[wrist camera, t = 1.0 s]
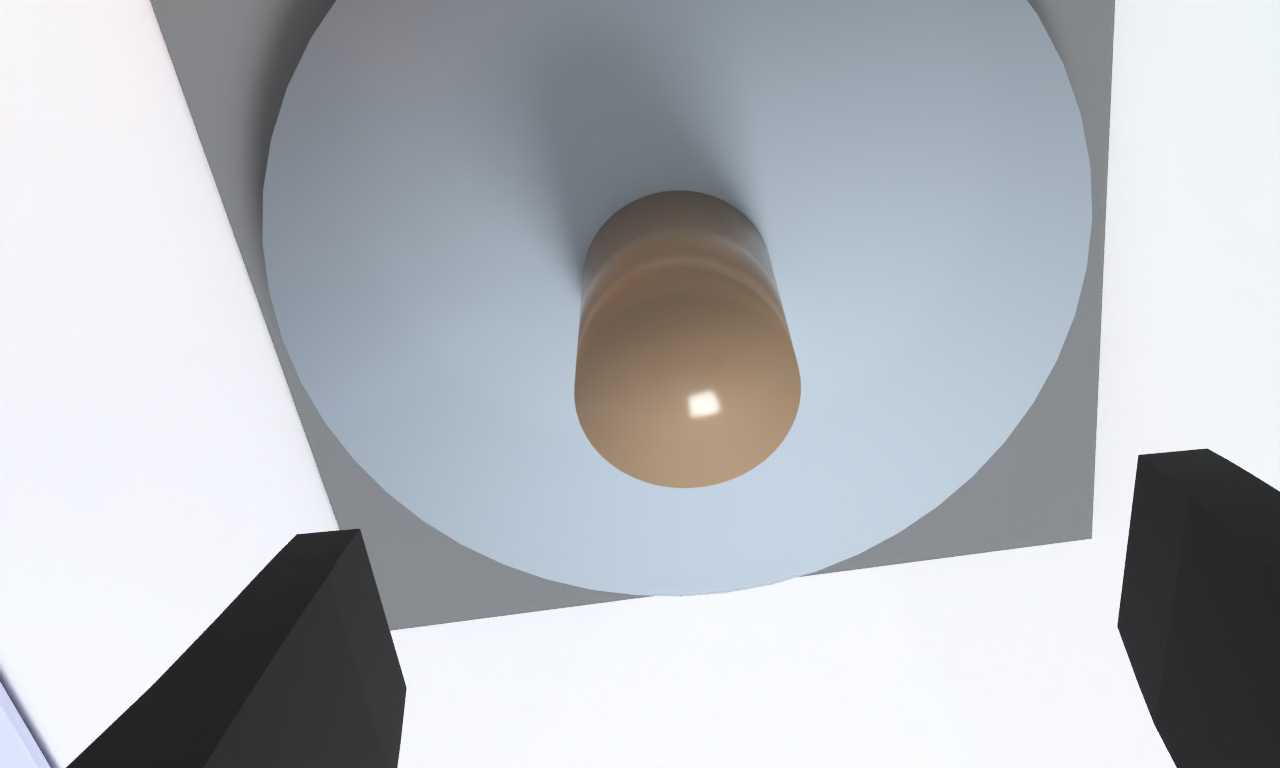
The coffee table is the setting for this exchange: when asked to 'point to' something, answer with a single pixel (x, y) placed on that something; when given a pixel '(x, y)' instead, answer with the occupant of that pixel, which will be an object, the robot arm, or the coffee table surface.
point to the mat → (481, 587)
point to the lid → (675, 268)
